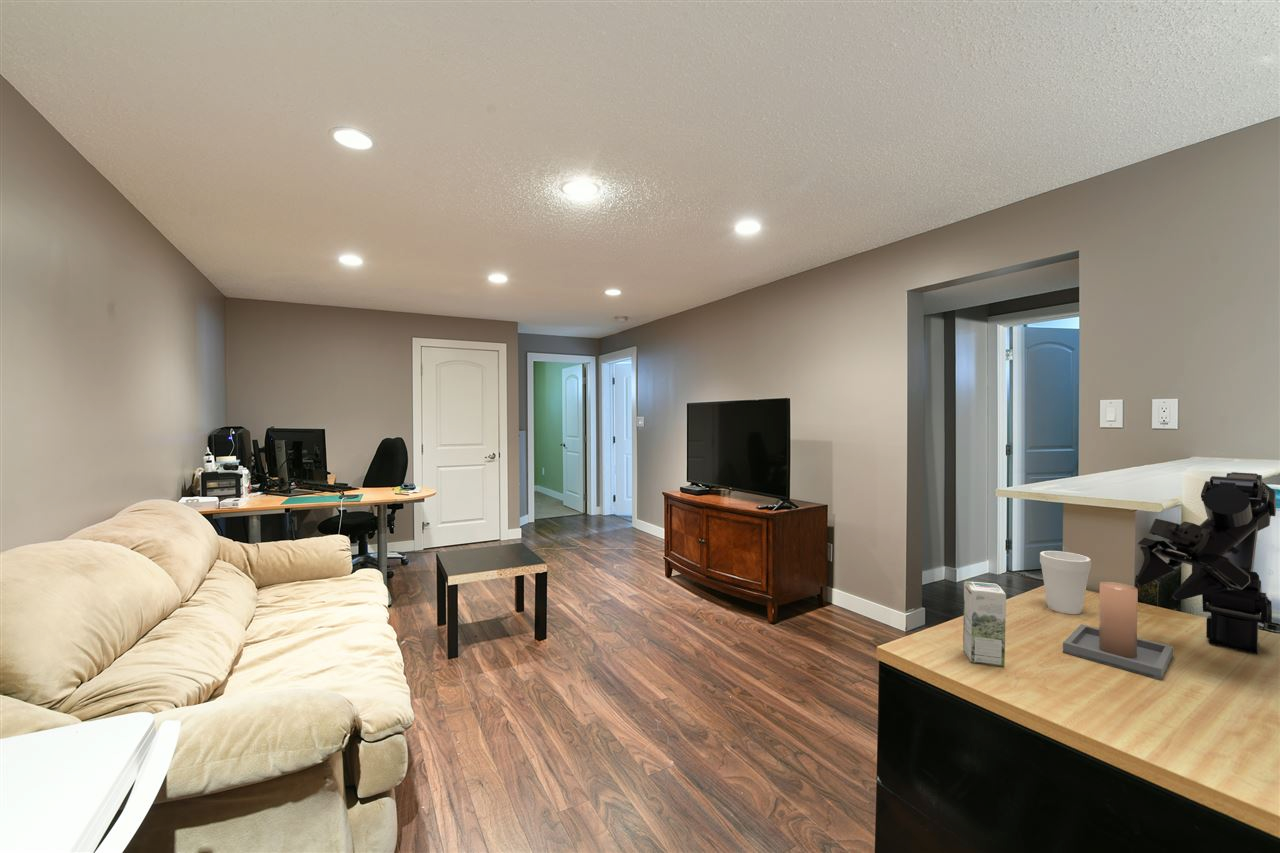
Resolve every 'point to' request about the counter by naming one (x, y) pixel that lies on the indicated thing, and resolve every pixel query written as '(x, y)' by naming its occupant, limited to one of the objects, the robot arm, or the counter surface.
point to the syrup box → (984, 623)
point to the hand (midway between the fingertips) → (1155, 591)
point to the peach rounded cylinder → (1118, 619)
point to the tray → (1147, 662)
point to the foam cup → (1065, 580)
